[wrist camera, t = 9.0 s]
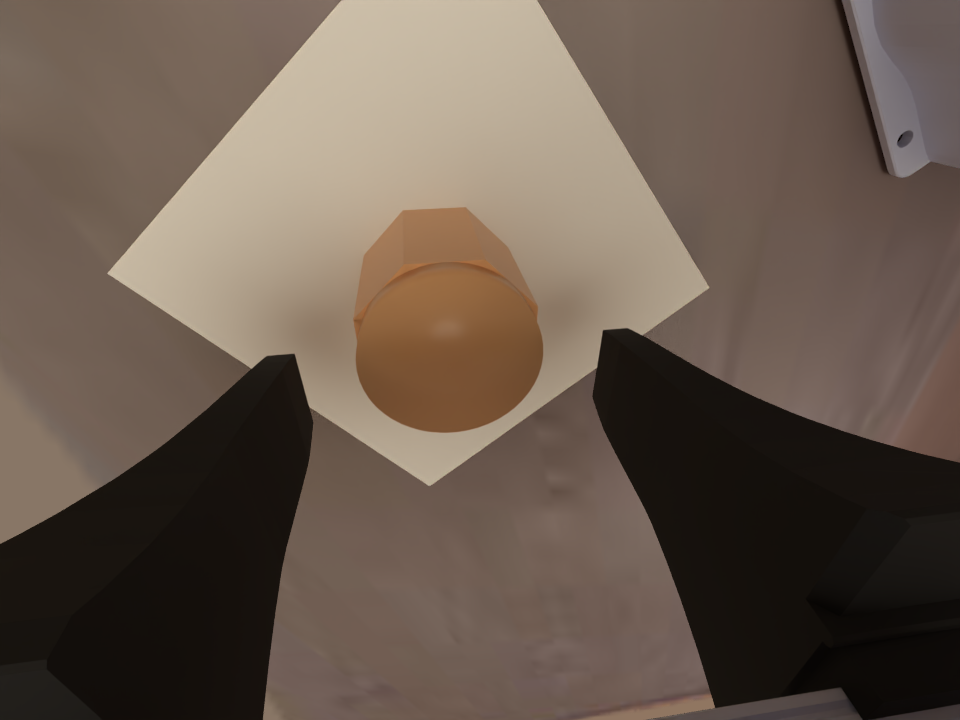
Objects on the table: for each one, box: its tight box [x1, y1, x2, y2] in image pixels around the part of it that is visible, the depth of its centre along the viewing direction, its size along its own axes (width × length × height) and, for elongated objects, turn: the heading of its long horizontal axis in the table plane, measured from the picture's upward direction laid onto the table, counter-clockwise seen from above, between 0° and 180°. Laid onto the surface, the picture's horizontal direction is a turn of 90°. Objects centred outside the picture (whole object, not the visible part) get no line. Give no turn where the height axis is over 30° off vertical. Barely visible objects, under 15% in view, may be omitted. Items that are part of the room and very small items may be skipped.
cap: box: [353, 207, 543, 433], centre depth 14 cm, size 5×5×5 cm
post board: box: [108, 0, 709, 486], centre depth 15 cm, size 14×14×5 cm
